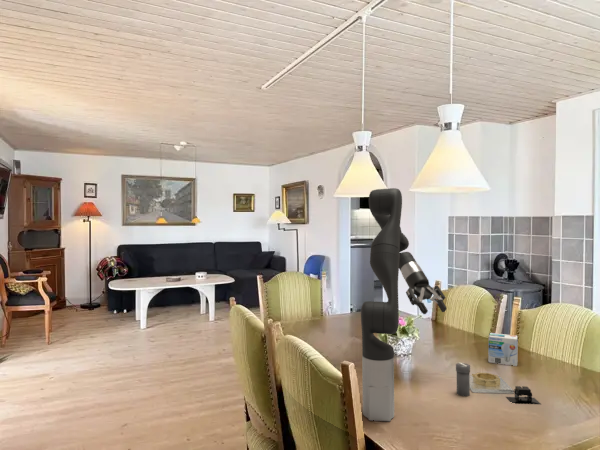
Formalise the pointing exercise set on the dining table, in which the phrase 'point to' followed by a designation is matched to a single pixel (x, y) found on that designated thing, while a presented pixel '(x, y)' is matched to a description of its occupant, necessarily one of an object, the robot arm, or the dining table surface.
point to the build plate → (522, 400)
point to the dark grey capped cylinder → (463, 379)
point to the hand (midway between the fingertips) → (435, 311)
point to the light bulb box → (503, 349)
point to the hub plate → (488, 384)
